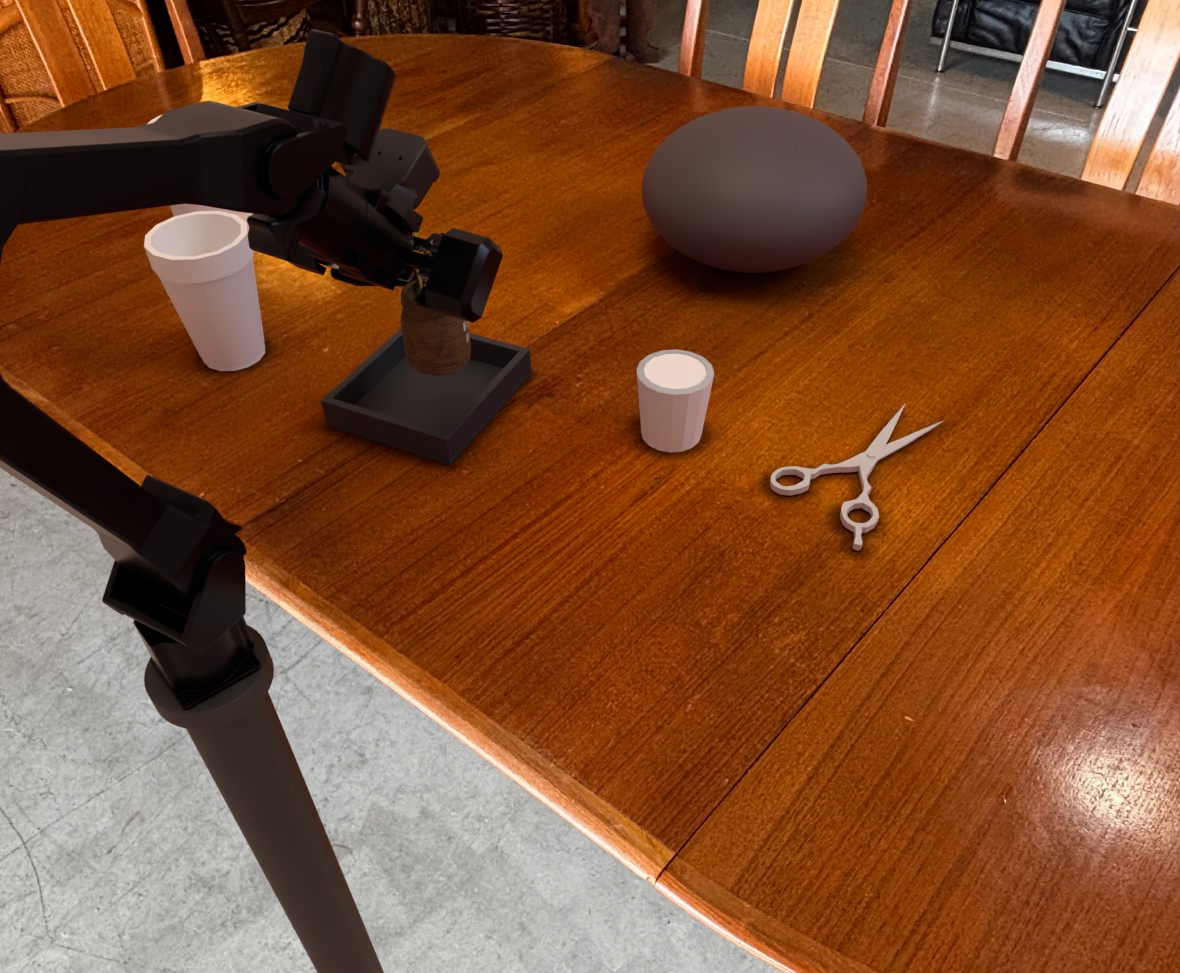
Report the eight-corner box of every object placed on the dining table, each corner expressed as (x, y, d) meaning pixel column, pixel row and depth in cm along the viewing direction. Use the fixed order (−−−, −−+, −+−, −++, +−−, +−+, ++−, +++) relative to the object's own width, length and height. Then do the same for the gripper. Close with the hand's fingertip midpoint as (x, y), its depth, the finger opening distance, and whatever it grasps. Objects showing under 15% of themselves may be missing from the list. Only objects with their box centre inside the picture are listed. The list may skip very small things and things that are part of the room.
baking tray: (450, 466, 89) (446, 439, 87) (327, 426, 93) (320, 400, 91) (531, 374, 98) (529, 349, 96) (416, 342, 102) (412, 317, 100)
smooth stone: (602, 231, 118) (602, 101, 107) (774, 186, 126) (790, 61, 115) (711, 330, 103) (724, 192, 92) (899, 273, 111) (931, 139, 100)
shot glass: (669, 466, 88) (673, 403, 83) (619, 430, 92) (620, 367, 87) (723, 436, 91) (730, 372, 86) (673, 402, 95) (677, 339, 90)
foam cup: (172, 350, 102) (128, 231, 92) (254, 318, 106) (219, 201, 96) (212, 391, 97) (170, 270, 87) (296, 356, 101) (265, 237, 91)
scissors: (753, 488, 85) (877, 385, 95) (752, 494, 86) (875, 391, 96) (859, 546, 80) (978, 431, 90) (857, 552, 81) (975, 437, 91)
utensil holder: (425, 385, 87) (405, 259, 78) (395, 352, 91) (372, 228, 82) (483, 365, 89) (470, 240, 81) (452, 333, 93) (436, 210, 84)
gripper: (478, 134, 68) (563, 222, 82) (271, 85, 74) (384, 175, 88) (425, 291, 69) (518, 349, 83) (225, 229, 75) (344, 294, 90)
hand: (440, 287), depth 86 cm, fingers closed on utensil holder, 5 cm apart
